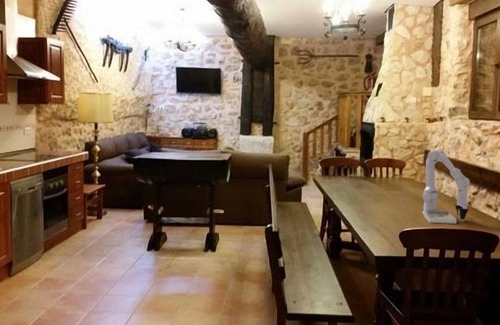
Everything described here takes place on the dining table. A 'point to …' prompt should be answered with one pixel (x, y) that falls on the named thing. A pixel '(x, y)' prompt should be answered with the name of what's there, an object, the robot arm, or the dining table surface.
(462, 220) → the peg
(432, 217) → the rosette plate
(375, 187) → the dining table surface
